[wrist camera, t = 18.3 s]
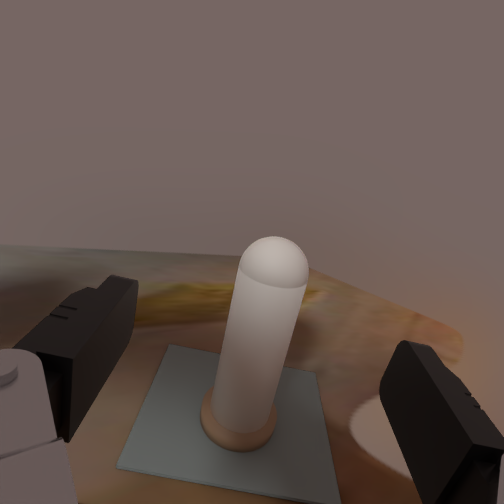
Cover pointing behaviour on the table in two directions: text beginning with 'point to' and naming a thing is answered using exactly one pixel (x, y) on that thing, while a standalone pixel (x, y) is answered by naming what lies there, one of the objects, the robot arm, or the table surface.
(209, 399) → the skittle
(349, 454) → the table surface
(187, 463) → the mat
